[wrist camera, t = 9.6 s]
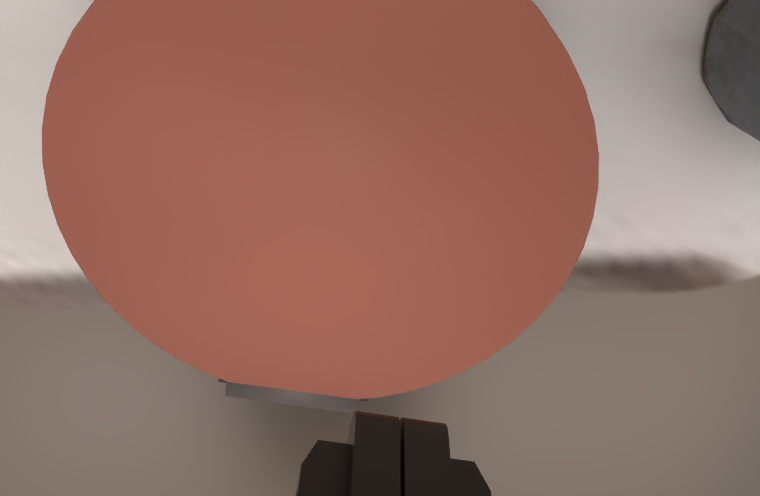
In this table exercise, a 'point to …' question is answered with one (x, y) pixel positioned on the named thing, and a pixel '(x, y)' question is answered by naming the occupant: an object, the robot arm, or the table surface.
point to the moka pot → (736, 64)
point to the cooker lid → (321, 184)
